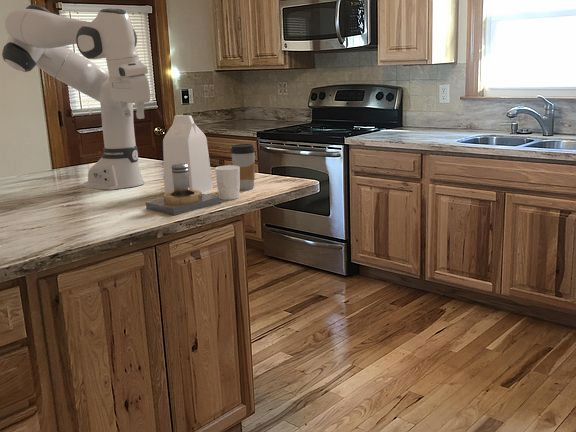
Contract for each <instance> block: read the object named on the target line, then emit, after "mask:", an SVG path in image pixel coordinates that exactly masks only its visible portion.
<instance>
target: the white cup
mask: <svg viewBox="0 0 576 432" xmlns="http://www.w3.org/2000/svg"><path fill="white" fill-rule="evenodd" d="M214 170H215V178H216V186H217V193H218V197H220V200H223V201H224V200H225V201H227V200H228V201H230V200H236V199H239V198H240V191H241V190H239V189H240V167H239V166H235V165H233V164H232V165H231V164H229V165H228V164H227V165H220V166H217V167H215V169H214Z"/></svg>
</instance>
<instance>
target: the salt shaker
mask: <svg viewBox="0 0 576 432" xmlns="http://www.w3.org/2000/svg"><path fill="white" fill-rule="evenodd" d="M172 176H173V187H174V196H188V195H191V193H190V181H189V169H188V164H186V163H179V164H173V165H172Z"/></svg>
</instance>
